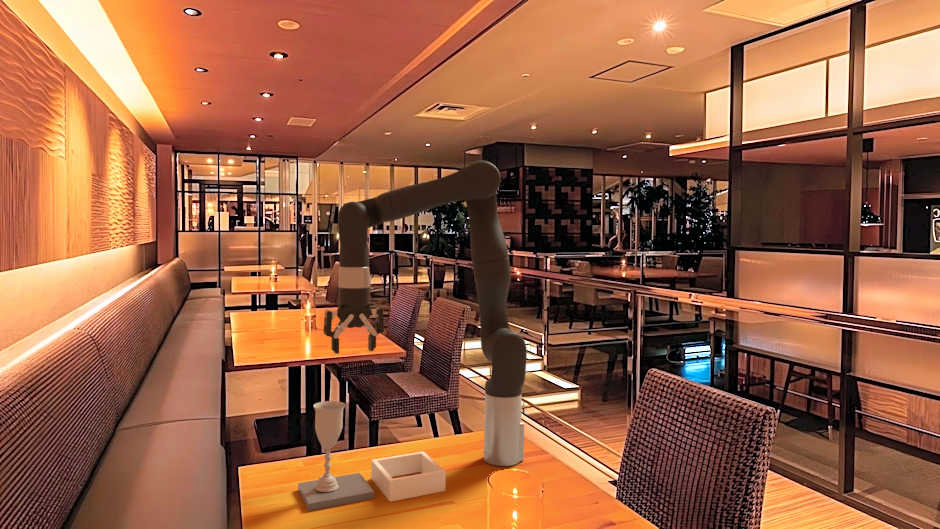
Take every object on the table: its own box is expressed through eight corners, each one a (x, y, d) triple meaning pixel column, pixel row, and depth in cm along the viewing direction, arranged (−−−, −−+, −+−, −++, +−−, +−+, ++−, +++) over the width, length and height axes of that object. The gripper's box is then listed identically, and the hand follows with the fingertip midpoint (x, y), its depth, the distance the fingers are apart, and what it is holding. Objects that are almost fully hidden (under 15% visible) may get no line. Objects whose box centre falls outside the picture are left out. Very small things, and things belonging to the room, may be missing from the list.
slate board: (359, 479, 141) (359, 472, 141) (374, 498, 131) (374, 491, 131) (298, 489, 135) (297, 483, 135) (308, 511, 125) (308, 503, 125)
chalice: (334, 495, 128) (337, 410, 128) (304, 491, 130) (307, 407, 129) (348, 482, 135) (350, 402, 135) (319, 479, 137) (322, 399, 136)
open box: (423, 469, 147) (423, 451, 147) (445, 490, 135) (445, 471, 135) (371, 478, 141) (371, 459, 141) (389, 501, 130) (390, 481, 129)
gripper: (328, 287, 140) (328, 357, 141) (387, 285, 146) (387, 352, 147) (321, 284, 146) (321, 351, 147) (377, 283, 153) (377, 346, 154)
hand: (354, 351), depth 147 cm, fingers open, 8 cm apart
